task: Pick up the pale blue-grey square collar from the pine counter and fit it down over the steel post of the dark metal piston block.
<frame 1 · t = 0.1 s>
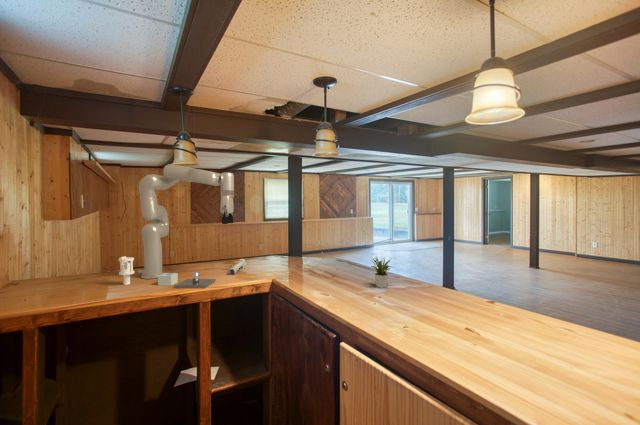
hand: (227, 223, 184), 31 cm above the counter, tool pointing down, fingers open, 9 cm apart
house plant: (378, 286, 160), on the counter
white upright piece: (126, 284, 169), on the counter
collar: (168, 283, 169), on the counter
white flashlight: (237, 271, 203), on the counter
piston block: (195, 284, 166), on the counter
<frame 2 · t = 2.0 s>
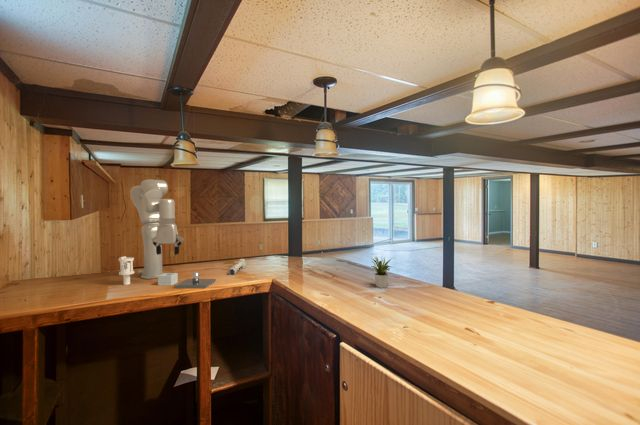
hand: (167, 254, 169), 16 cm above the counter, tool pointing down, fingers open, 9 cm apart
nothing on the counter moved.
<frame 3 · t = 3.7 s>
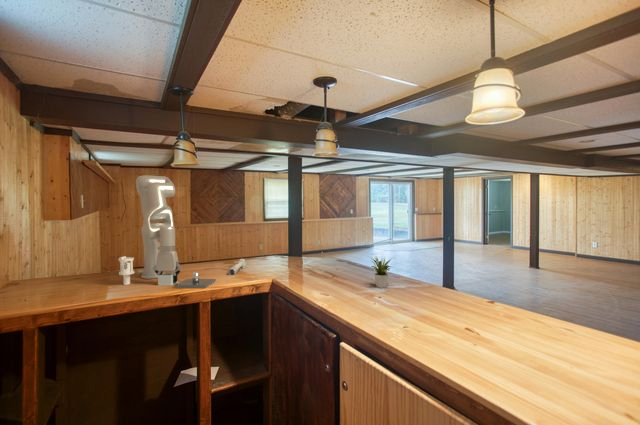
hand: (168, 282, 169), 1 cm above the counter, tool pointing down, fingers closed on collar, 7 cm apart
collar: (168, 283, 169), on the counter, touching gripper
everything else where it was.
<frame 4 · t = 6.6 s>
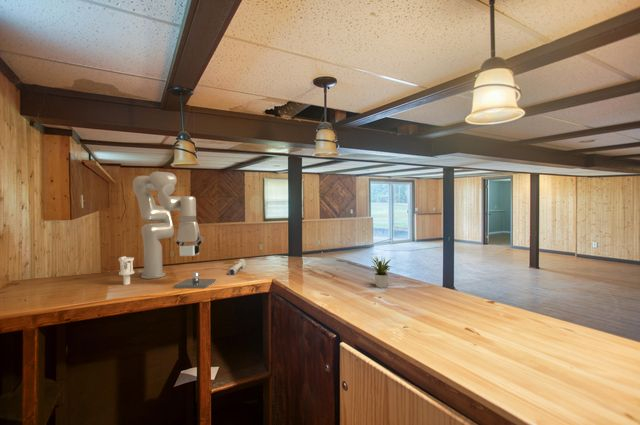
hand: (189, 253, 166), 16 cm above the counter, tool pointing down, fingers closed on collar, 7 cm apart
collar: (189, 255, 166), point 16 cm above the counter, touching gripper
everything else where it was.
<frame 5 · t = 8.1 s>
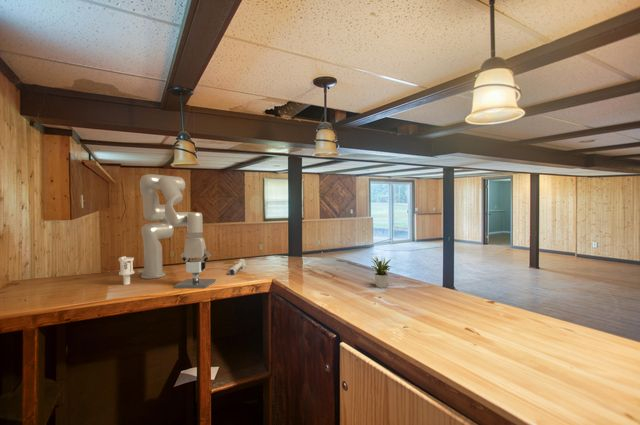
hand: (195, 269, 166), 8 cm above the counter, tool pointing down, fingers closed on collar, 7 cm apart
collar: (195, 271, 166), point 7 cm above the counter, touching gripper
everything else where it was.
when the fingers open (4 cm above the counter, at t = 9.3 s): collar drops 2 cm, resting on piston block.
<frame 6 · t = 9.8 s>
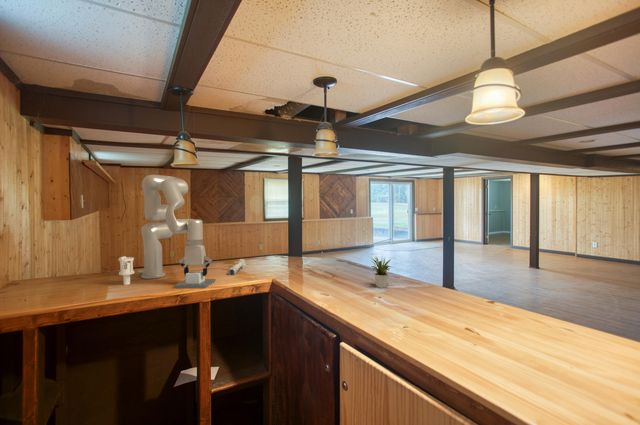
hand: (195, 275, 166), 5 cm above the counter, tool pointing down, fingers open, 9 cm apart
collar: (195, 281, 166), point 1 cm above the counter, touching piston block
everything else where it was.
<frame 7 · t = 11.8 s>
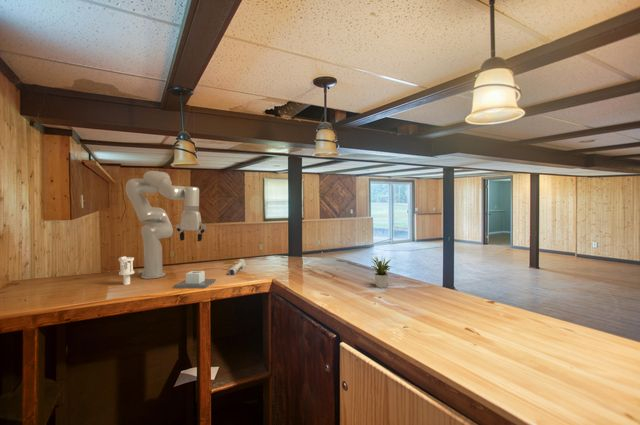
hand: (190, 240, 173), 22 cm above the counter, tool pointing down, fingers open, 9 cm apart
nothing on the counter moved.
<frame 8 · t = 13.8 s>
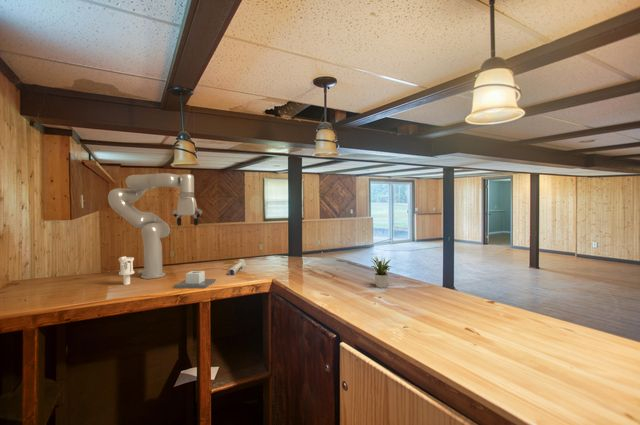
hand: (187, 225, 183), 30 cm above the counter, tool pointing down, fingers open, 9 cm apart
at the end: collar 0.2 cm off-centre on the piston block, point 1.5 cm above the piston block's base; the gripper is holding nothing; collar tilted 0° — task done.
